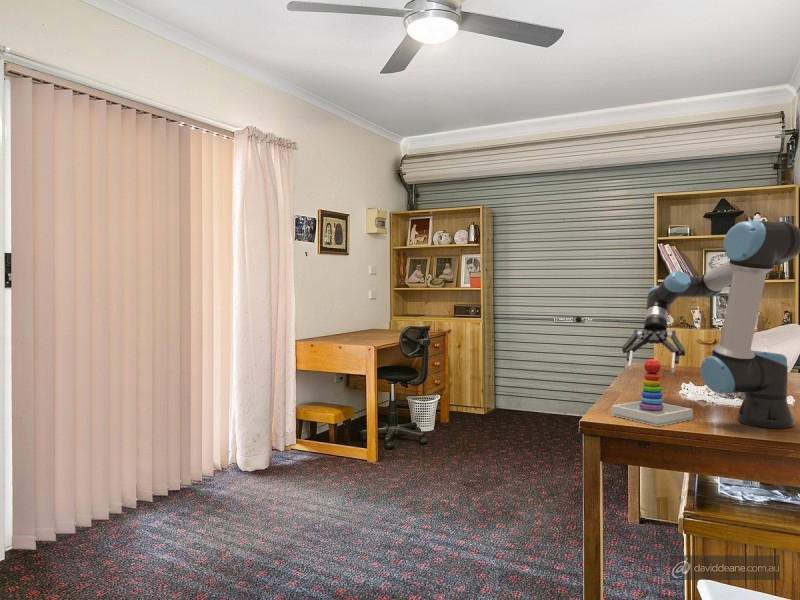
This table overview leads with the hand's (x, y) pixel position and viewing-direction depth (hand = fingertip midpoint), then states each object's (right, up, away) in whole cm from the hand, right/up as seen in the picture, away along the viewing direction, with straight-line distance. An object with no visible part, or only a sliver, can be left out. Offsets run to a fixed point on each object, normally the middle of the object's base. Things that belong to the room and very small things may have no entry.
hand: (651, 368), depth 200 cm
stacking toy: (-1, -15, -3) cm, 16 cm away
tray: (-1, -16, -3) cm, 16 cm away
